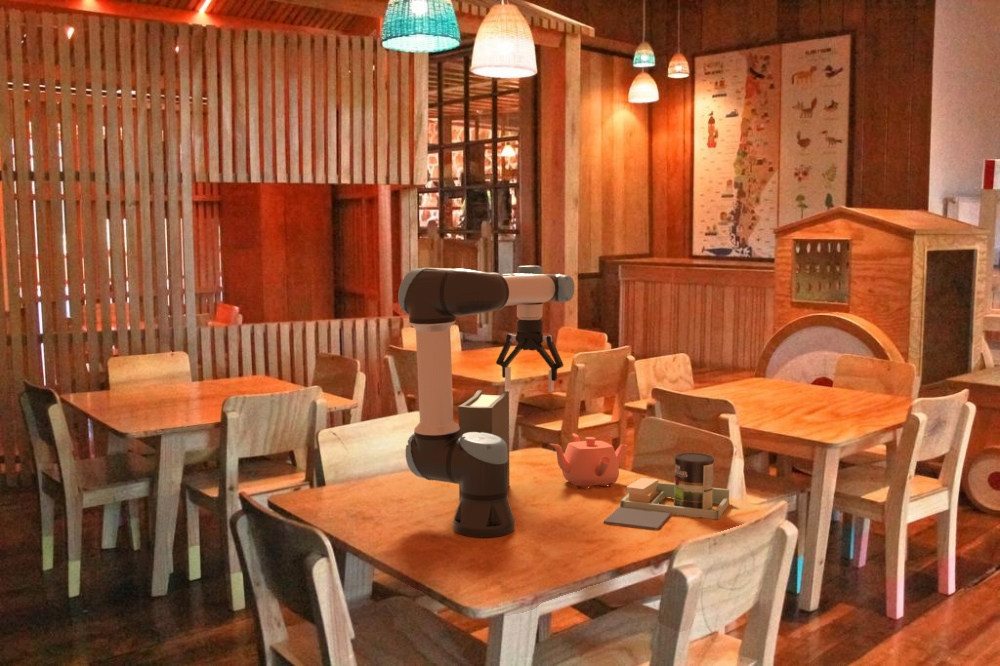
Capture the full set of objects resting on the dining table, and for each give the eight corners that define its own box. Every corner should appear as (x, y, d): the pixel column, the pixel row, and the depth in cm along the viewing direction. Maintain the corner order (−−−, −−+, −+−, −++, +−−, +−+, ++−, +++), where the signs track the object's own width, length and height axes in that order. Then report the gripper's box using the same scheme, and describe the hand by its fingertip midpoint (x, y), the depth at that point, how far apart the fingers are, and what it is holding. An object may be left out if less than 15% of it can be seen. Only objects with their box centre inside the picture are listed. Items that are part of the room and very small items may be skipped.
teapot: (548, 487, 277) (549, 440, 276) (572, 473, 293) (572, 429, 292) (608, 495, 269) (608, 446, 267) (629, 480, 285) (629, 434, 284)
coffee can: (685, 515, 249) (686, 462, 248) (666, 505, 259) (667, 454, 257) (720, 512, 252) (721, 459, 251) (700, 501, 262) (701, 451, 260)
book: (491, 507, 258) (491, 406, 255) (458, 505, 260) (457, 404, 257) (509, 485, 279) (508, 391, 275) (478, 483, 281) (477, 390, 278)
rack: (717, 519, 245) (718, 499, 245) (620, 508, 256) (620, 489, 255) (729, 503, 260) (729, 485, 259) (636, 493, 270) (636, 475, 270)
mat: (657, 530, 236) (657, 527, 236) (603, 523, 242) (603, 521, 242) (670, 515, 249) (670, 512, 249) (619, 509, 255) (619, 506, 255)
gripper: (574, 318, 278) (573, 390, 280) (495, 316, 288) (495, 385, 290) (566, 320, 271) (565, 394, 273) (485, 318, 281) (485, 389, 283)
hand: (529, 390), depth 281 cm, fingers open, 13 cm apart
